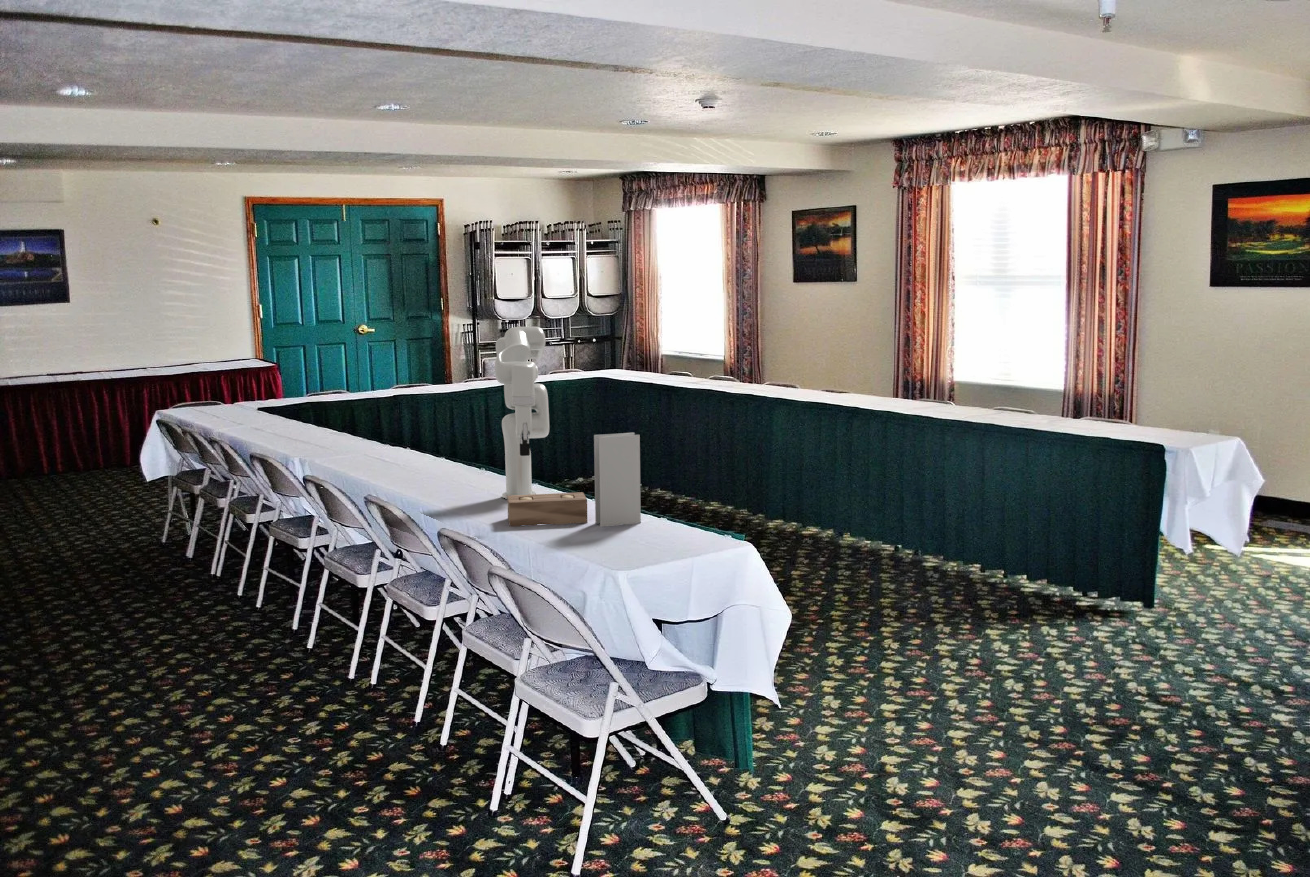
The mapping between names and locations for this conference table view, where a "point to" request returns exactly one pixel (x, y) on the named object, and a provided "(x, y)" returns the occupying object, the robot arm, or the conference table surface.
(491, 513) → the conference table surface
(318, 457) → the conference table surface
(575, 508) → the walnut block
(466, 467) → the conference table surface
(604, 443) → the brochure
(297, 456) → the conference table surface
